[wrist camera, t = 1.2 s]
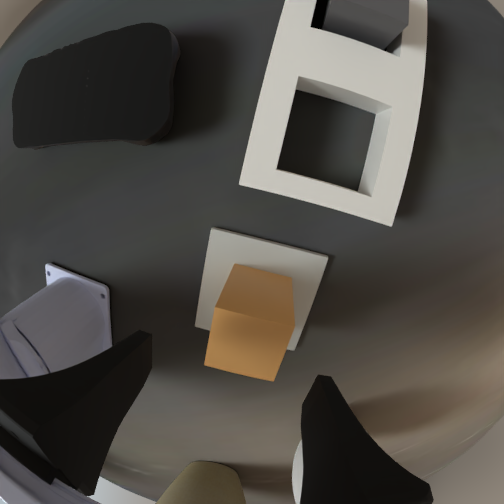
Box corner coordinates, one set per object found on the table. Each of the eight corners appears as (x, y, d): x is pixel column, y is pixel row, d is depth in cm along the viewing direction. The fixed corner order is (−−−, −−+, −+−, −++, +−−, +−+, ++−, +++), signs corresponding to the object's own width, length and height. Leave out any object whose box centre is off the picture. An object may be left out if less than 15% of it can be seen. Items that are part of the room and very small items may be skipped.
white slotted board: (375, 216, 17) (391, 226, 14) (245, 181, 18) (238, 184, 15) (411, -28, 10) (423, -43, 7) (308, -60, 10) (310, -80, 7)
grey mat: (294, 347, 21) (294, 350, 21) (196, 323, 21) (194, 326, 21) (327, 255, 19) (328, 257, 18) (213, 226, 19) (211, 228, 18)
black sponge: (196, 37, 15) (179, 15, 11) (179, 146, 17) (156, 143, 14) (43, 69, 16) (18, 64, 12) (31, 151, 18) (4, 154, 15)
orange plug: (276, 325, 20) (273, 381, 14) (223, 312, 20) (204, 365, 14) (291, 277, 19) (295, 326, 13) (234, 263, 19) (214, 307, 13)
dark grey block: (374, 58, 14) (408, 24, 8) (318, 40, 14) (332, -4, 8) (380, 18, 13) (409, -20, 7) (327, 1, 13) (340, -45, 7)
